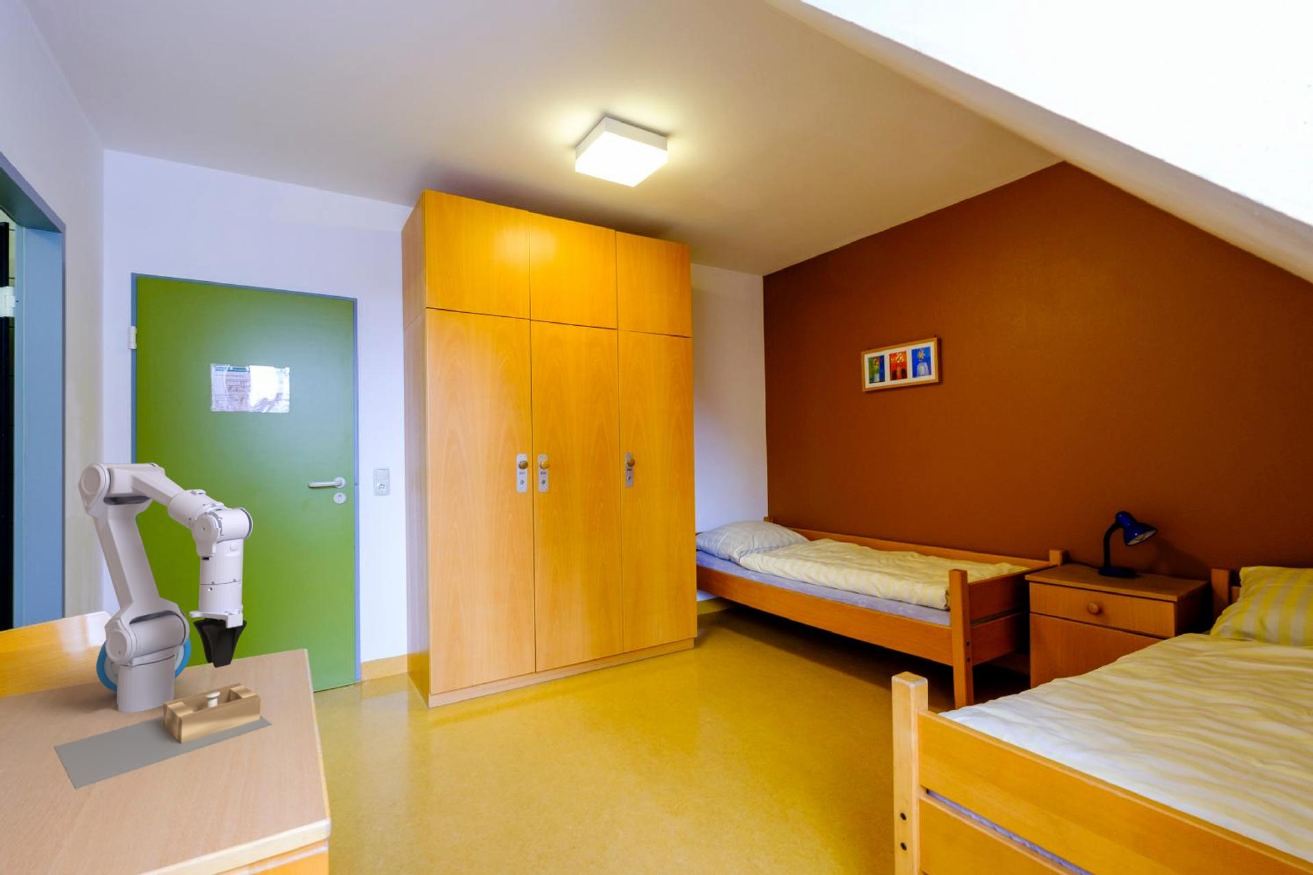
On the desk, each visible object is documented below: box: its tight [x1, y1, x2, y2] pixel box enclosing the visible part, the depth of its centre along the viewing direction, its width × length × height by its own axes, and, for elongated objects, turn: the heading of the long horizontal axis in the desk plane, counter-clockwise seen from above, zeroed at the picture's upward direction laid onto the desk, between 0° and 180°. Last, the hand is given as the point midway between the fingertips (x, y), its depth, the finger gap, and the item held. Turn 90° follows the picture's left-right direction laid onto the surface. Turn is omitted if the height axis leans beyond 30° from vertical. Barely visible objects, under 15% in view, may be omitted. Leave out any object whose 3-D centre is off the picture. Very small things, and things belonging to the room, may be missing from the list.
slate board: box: [53, 692, 274, 790], centre depth 86 cm, size 18×22×6 cm
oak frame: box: [163, 682, 261, 744], centre depth 90 cm, size 10×10×4 cm
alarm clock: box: [95, 608, 192, 693], centre depth 107 cm, size 13×6×15 cm, turn 132°
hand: (218, 663), depth 94 cm, fingers open, 3 cm apart
